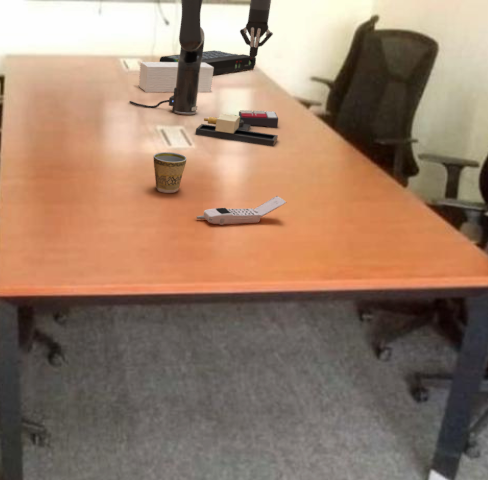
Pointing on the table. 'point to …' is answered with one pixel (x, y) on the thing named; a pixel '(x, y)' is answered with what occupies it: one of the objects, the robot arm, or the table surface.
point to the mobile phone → (241, 213)
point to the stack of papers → (170, 76)
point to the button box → (243, 126)
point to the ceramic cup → (168, 171)
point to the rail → (238, 135)
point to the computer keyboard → (221, 61)
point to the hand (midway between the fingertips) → (252, 57)
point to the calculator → (259, 118)
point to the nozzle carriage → (225, 123)
